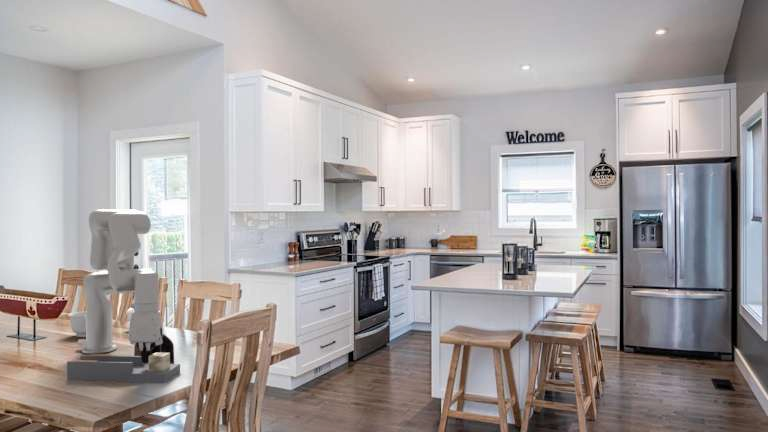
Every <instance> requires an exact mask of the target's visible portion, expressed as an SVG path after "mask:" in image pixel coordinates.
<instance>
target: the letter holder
mask: <svg viewBox="0 0 768 432" xmlns="http://www.w3.org/2000/svg"><path fill="white" fill-rule="evenodd" d="M162 341H163V343H162V344H160V345H156V346H155V347H154V348H153V349H152V354H154V353H155V352H162V353H170V364H175V351H174V350H175V348H174V343H173V340H171V338H169V337H168V336H167V335H166V334H164V333H163V338H162ZM146 345H147V343H146ZM133 352H134V354H133V356H141V351H140V350H139V348H138V347H137V346H136V345H134V349H133ZM148 363H149V362H148ZM145 364H146V363H144V365H145Z"/></svg>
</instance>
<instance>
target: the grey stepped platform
mask: <svg viewBox="0 0 768 432" xmlns="http://www.w3.org/2000/svg"><path fill="white" fill-rule="evenodd" d="M180 373H181V364H180V363H174V364H170V367H169V368H168V369H166V370H165V371H149V363H146V364H145V365H144V363H142V359H141V356H134V355H111V354H103V353H97V354H82V355H80V359H79V360H68V361H67V362H66V380H68V381H105V382H106V381H110V382H111V381H113V382H119V381H120V382H128V383H130V384H131V383H132V384H133V383H134V384H136V383H137V384H139V383H141V384H166V383H167V382H169V381H170V380H172V379H173V378H174V377H176V376H177V375H179V374H180Z"/></svg>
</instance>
